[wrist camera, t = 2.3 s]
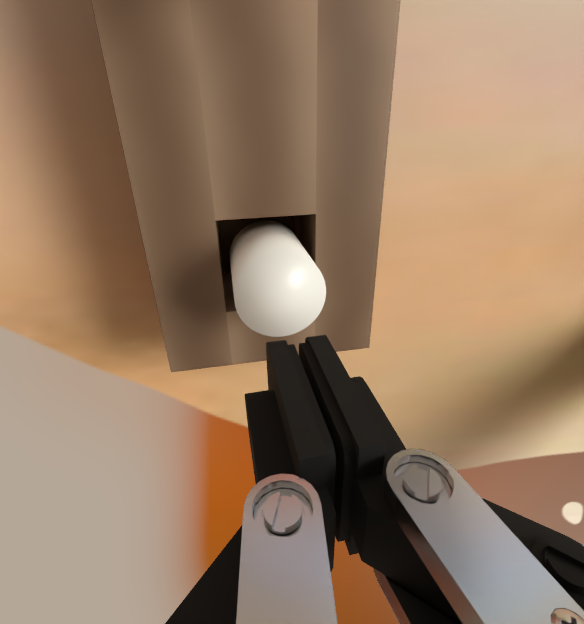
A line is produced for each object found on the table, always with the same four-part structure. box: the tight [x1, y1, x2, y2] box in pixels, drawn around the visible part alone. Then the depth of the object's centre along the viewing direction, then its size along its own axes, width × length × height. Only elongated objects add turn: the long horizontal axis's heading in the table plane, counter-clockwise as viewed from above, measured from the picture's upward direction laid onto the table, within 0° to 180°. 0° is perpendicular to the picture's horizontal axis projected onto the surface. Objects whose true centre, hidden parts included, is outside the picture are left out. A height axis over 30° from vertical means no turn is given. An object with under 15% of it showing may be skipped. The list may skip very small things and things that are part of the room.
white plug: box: [230, 220, 326, 337], centre depth 18 cm, size 4×4×6 cm
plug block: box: [91, 0, 400, 372], centre depth 19 cm, size 12×26×6 cm, turn 1°
